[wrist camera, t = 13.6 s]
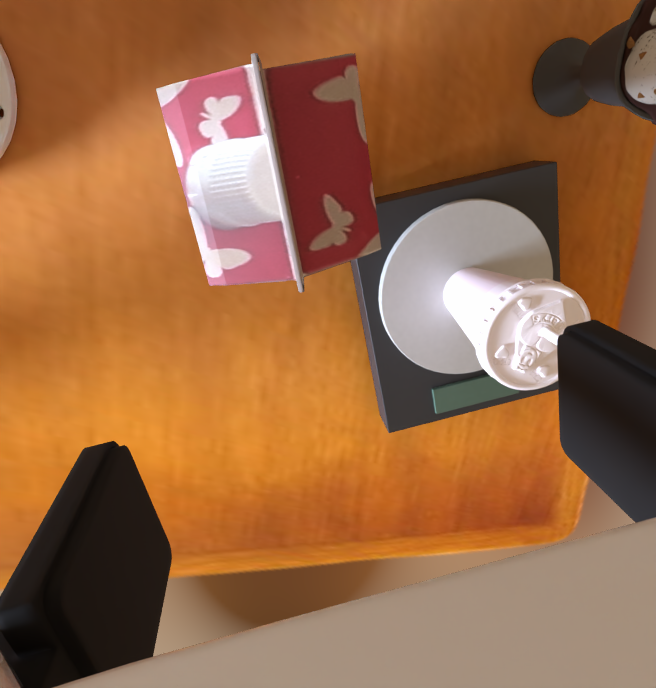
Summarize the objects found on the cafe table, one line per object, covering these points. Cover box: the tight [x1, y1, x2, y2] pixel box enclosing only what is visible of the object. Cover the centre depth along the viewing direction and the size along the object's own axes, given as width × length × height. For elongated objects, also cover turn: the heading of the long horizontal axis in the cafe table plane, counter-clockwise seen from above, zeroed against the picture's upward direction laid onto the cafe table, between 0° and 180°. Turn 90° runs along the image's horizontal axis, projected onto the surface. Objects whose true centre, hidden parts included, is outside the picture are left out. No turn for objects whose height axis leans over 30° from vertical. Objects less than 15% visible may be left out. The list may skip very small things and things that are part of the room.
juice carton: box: [156, 53, 381, 292], centre depth 25 cm, size 7×7×22 cm
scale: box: [351, 161, 560, 433], centre depth 39 cm, size 18×15×4 cm
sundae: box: [533, 0, 656, 125], centre depth 29 cm, size 7×7×15 cm
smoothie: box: [443, 267, 591, 390], centre depth 30 cm, size 6×6×14 cm
